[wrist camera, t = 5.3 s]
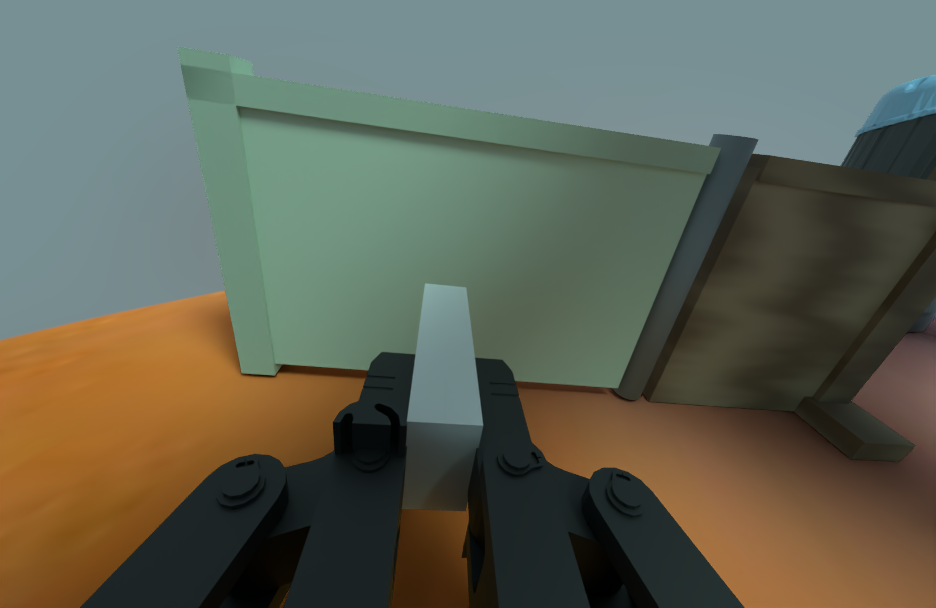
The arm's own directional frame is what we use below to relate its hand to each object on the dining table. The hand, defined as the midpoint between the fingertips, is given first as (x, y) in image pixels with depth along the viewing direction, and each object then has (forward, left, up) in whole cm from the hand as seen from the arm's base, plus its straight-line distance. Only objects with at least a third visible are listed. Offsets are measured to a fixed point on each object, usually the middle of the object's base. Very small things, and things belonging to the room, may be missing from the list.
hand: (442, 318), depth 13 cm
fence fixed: (-19, -4, -6) cm, 20 cm away
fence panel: (-1, -4, -6) cm, 7 cm away
